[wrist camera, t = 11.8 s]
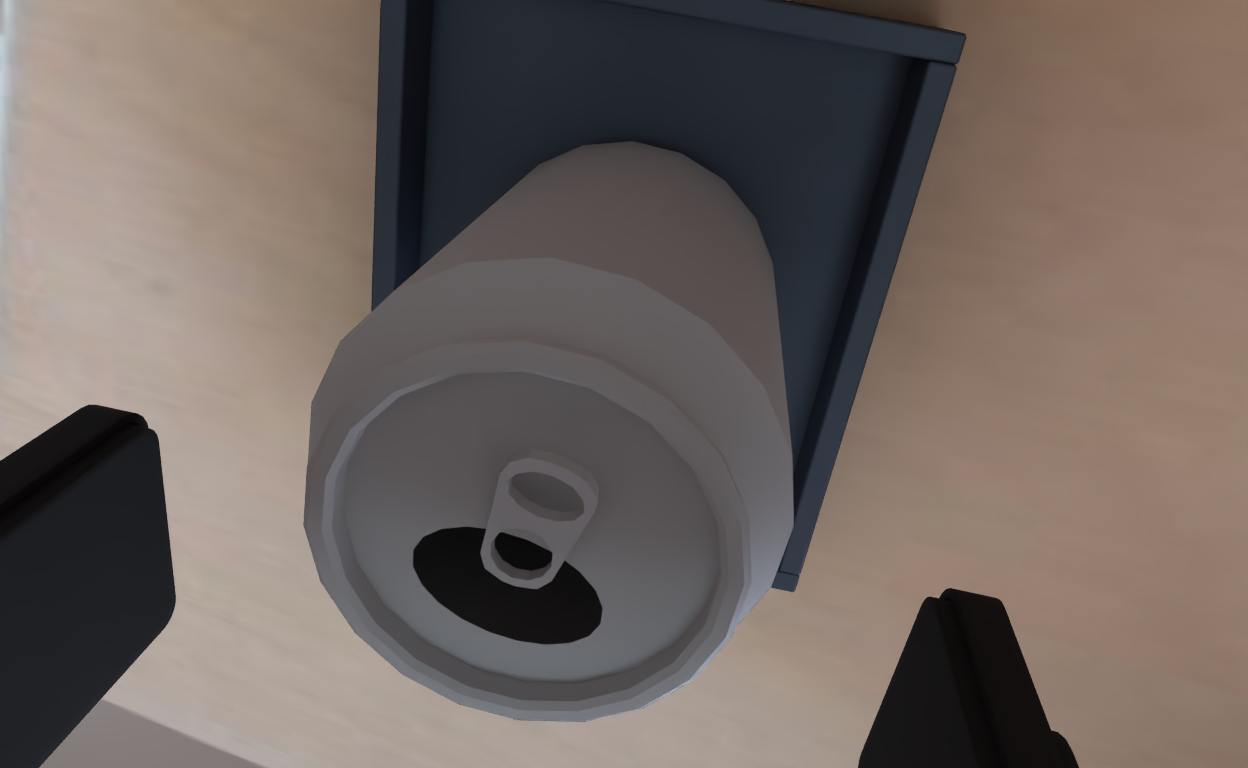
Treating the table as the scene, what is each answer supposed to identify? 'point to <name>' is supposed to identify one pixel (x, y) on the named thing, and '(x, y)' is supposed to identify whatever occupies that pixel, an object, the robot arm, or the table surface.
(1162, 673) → the table surface
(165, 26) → the table surface
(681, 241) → the can
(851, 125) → the charcoal tray
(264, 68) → the table surface
